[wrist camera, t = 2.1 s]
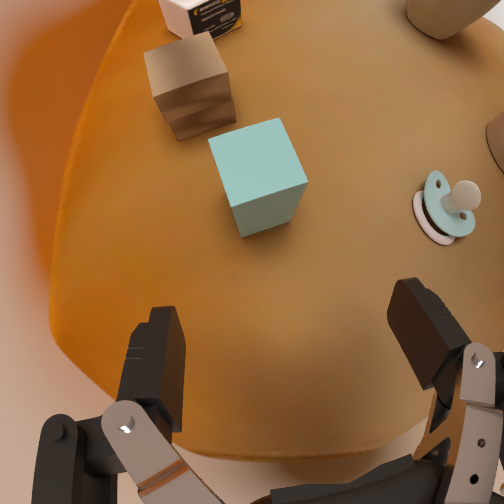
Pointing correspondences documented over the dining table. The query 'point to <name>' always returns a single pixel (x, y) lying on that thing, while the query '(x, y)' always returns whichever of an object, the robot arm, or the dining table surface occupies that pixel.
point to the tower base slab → (203, 120)
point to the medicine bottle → (201, 16)
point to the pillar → (259, 175)
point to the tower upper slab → (187, 76)
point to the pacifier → (447, 207)
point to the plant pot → (446, 15)
